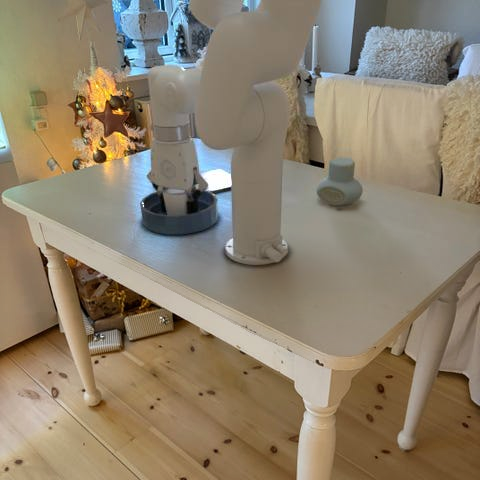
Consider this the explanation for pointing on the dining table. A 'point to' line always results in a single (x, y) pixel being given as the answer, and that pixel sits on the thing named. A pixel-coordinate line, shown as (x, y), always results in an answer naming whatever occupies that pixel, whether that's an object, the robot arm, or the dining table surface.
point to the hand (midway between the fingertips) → (179, 212)
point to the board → (217, 181)
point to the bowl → (179, 223)
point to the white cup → (175, 201)
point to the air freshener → (340, 184)
